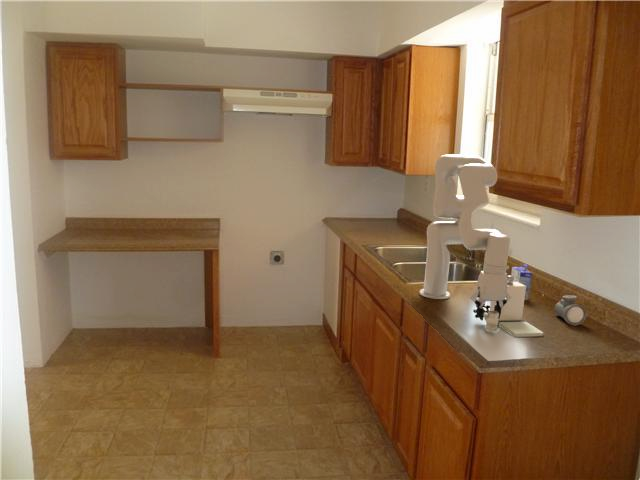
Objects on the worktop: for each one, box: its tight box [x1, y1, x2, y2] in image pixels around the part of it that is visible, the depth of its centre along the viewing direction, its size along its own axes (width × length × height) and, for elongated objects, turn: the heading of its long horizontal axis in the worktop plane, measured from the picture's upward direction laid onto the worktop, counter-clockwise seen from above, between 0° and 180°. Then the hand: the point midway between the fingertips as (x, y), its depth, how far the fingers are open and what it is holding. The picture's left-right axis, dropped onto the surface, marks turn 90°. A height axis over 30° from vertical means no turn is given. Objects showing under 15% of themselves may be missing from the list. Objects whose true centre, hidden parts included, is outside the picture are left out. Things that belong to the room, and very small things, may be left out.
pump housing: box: [489, 274, 526, 326], centre depth 208 cm, size 8×11×17 cm
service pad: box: [498, 321, 545, 338], centre depth 199 cm, size 11×11×1 cm
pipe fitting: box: [553, 294, 587, 327], centre depth 213 cm, size 12×8×10 cm, turn 3°
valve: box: [473, 303, 499, 332], centre depth 198 cm, size 7×7×12 cm
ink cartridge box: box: [510, 263, 533, 301], centre depth 239 cm, size 10×6×14 cm, turn 2°
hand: (488, 317), depth 199 cm, fingers closed on valve, 5 cm apart
